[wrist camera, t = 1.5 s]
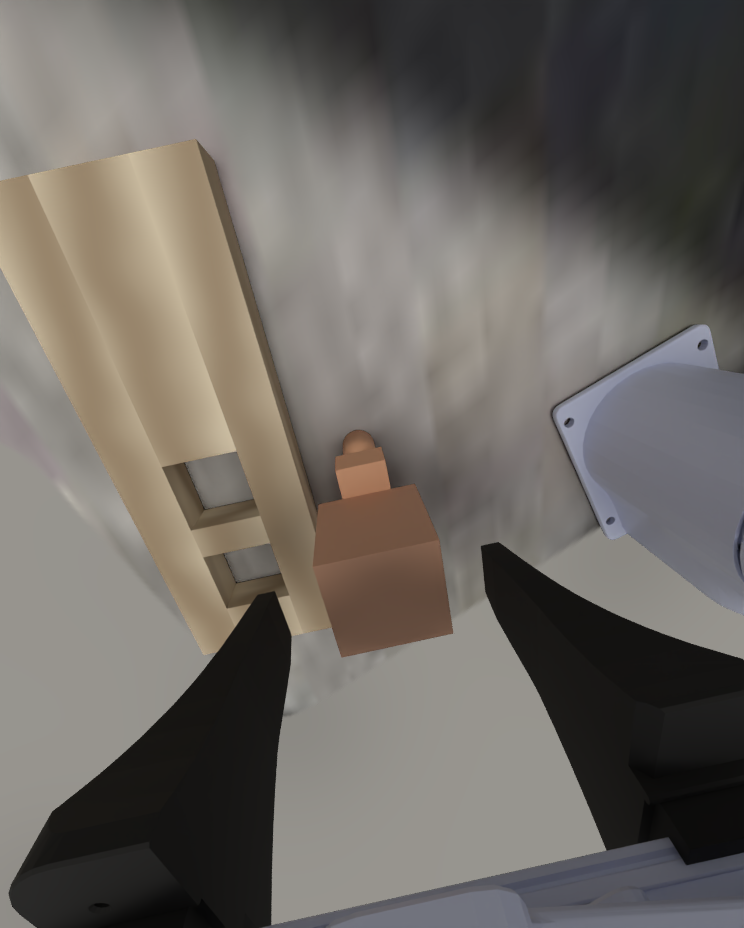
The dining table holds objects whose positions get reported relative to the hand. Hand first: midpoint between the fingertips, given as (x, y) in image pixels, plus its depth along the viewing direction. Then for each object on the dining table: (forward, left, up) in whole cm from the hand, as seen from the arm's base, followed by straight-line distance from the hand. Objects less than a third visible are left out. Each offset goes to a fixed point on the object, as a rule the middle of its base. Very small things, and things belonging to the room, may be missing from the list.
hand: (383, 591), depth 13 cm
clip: (0, 0, -8) cm, 8 cm away
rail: (+6, +5, -8) cm, 11 cm away
